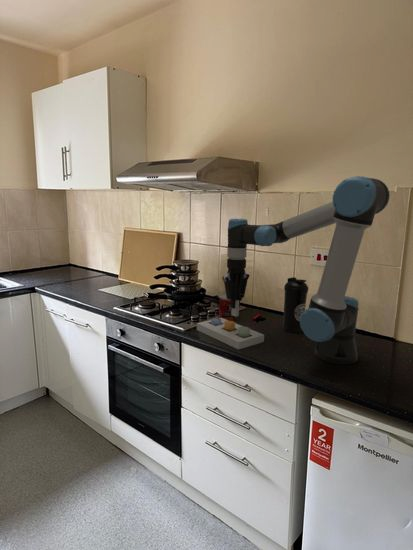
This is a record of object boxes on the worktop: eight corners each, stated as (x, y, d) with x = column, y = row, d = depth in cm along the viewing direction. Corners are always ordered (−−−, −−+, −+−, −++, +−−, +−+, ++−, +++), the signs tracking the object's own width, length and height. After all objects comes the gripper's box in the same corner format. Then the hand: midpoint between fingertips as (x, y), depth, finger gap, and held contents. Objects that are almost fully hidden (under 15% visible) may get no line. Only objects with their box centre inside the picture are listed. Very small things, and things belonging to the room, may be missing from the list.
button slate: (223, 328, 167) (223, 320, 167) (215, 330, 165) (215, 321, 164) (216, 325, 171) (216, 317, 170) (208, 327, 168) (209, 319, 167)
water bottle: (292, 335, 165) (297, 282, 160) (276, 327, 173) (280, 277, 169) (309, 331, 171) (314, 280, 166) (292, 324, 179) (296, 275, 174)
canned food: (221, 322, 178) (222, 299, 176) (216, 316, 186) (217, 294, 184) (237, 321, 180) (238, 298, 178) (231, 316, 188) (232, 294, 186)
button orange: (236, 331, 161) (237, 322, 160) (228, 333, 158) (229, 324, 157) (229, 328, 164) (230, 320, 163) (221, 330, 161) (222, 321, 161)
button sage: (251, 337, 154) (252, 328, 154) (243, 339, 152) (244, 330, 151) (243, 334, 158) (244, 325, 157) (235, 336, 155) (236, 327, 154)
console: (263, 341, 156) (264, 334, 155) (238, 349, 147) (238, 342, 147) (221, 324, 176) (221, 317, 175) (196, 329, 167) (196, 323, 166)
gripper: (242, 255, 160) (240, 311, 165) (218, 258, 152) (216, 316, 157) (255, 258, 154) (252, 315, 159) (230, 260, 146) (229, 320, 151)
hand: (234, 315), depth 158 cm, fingers closed
